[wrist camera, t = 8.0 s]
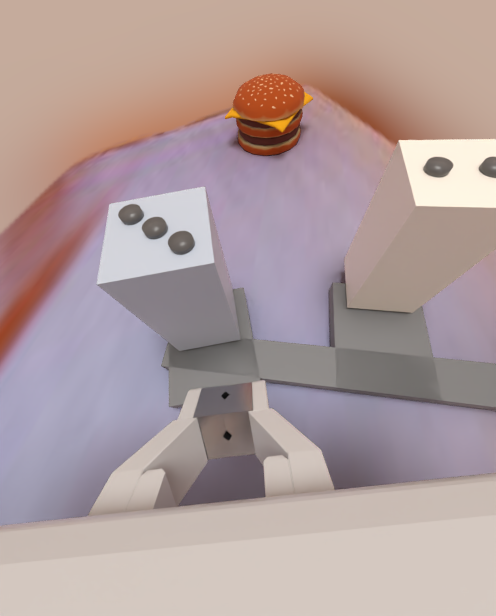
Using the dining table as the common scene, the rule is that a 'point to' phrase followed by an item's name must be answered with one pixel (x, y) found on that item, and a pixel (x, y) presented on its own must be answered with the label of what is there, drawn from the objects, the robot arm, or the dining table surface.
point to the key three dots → (170, 268)
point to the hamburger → (269, 113)
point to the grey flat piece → (339, 360)
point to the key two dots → (423, 224)
